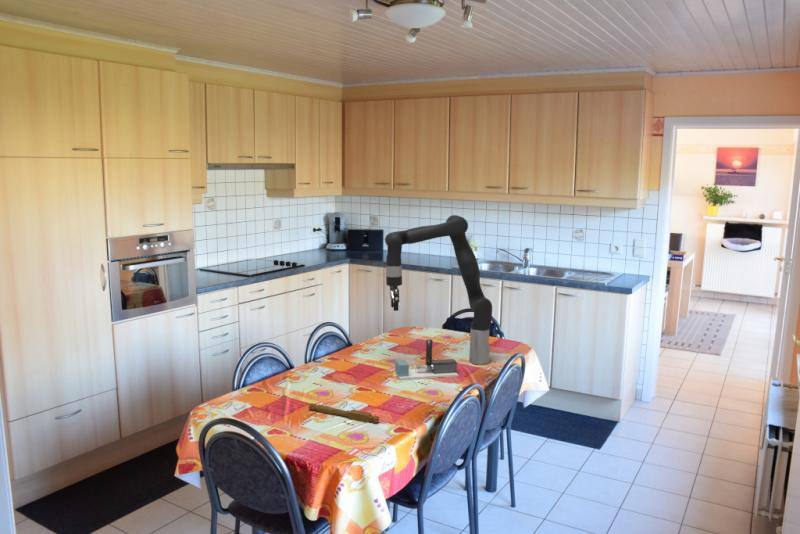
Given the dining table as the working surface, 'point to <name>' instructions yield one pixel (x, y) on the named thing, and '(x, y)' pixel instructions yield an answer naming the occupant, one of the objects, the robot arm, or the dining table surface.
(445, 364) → the outer sleeve
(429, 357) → the slip tube
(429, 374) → the base board
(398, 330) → the dining table surface
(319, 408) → the brown wooden stick
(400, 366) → the socket block
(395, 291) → the robot arm
